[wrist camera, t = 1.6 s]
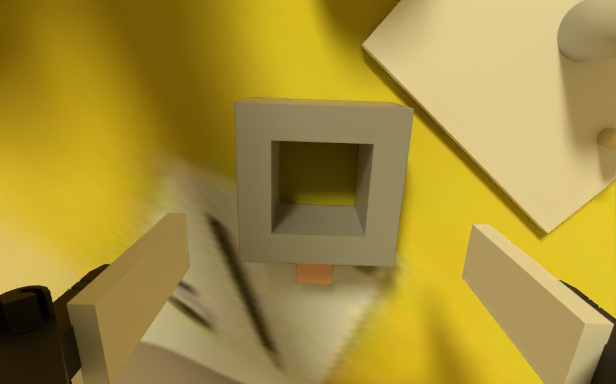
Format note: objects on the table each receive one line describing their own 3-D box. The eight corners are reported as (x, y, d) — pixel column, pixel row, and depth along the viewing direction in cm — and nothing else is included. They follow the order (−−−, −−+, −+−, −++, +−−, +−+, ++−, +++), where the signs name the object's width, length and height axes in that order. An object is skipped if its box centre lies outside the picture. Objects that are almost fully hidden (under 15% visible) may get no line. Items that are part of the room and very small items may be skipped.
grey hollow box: (250, 97, 26) (234, 102, 20) (391, 102, 26) (414, 108, 20) (254, 266, 31) (241, 308, 25) (373, 270, 31) (387, 313, 25)
